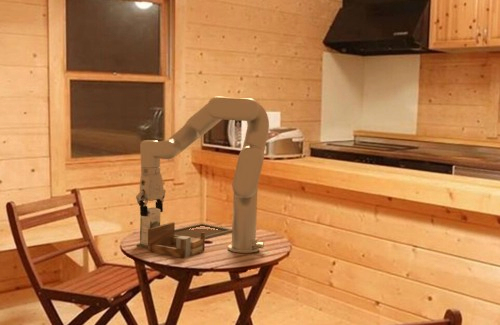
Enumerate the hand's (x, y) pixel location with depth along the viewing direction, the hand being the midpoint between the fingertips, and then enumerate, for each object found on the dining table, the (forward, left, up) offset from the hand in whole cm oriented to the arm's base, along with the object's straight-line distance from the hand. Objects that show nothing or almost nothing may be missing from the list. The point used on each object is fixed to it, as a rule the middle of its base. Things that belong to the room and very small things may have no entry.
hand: (151, 213), depth 232 cm
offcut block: (-19, +4, -13) cm, 23 cm away
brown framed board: (-3, -31, -14) cm, 34 cm away
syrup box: (+1, 0, -13) cm, 13 cm away
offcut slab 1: (-19, -2, -11) cm, 22 cm away
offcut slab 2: (-19, -2, -13) cm, 23 cm away
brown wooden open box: (-13, 0, -13) cm, 18 cm away
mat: (+1, 0, -13) cm, 13 cm away
